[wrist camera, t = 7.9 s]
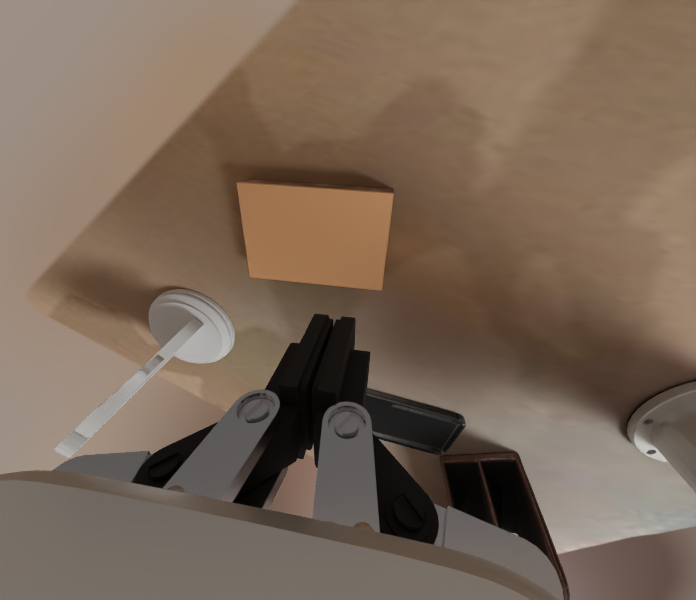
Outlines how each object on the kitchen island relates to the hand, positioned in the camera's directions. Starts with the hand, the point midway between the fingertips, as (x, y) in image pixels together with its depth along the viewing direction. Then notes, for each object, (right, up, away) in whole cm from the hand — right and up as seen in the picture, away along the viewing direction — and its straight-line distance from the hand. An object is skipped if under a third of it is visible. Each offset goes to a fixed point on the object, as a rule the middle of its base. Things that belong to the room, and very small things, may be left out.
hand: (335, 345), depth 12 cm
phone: (+7, -13, +25) cm, 29 cm away
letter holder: (+21, -27, +30) cm, 46 cm away
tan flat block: (+4, +7, +12) cm, 14 cm away
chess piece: (-17, -1, +21) cm, 27 cm away
